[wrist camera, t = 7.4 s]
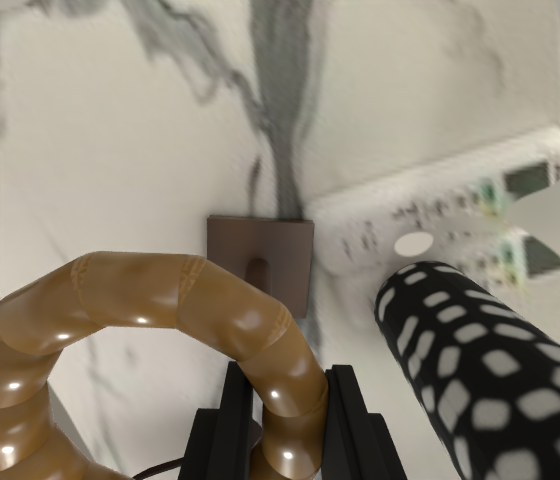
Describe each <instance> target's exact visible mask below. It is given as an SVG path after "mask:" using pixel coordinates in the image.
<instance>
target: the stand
mask: <svg viewBox="0 0 560 480" xmlns="http://www.w3.org/2000/svg"><path fill="white" fill-rule="evenodd" d="M313 235H314V222H313V221H307V220H288V219H269V218H250V217H231V216H212V215H210V216H209V217H208V218H207V260H209V261H211V262H212V263H214V264H216V265H218V266H219V267H221V268H223V269H225V270H226V271H228V272H230V273H232V274H233V275H235V276H237V277H238V278H240V279H242V280H244V281H245V282H247V283H249V284H251V285H252V286H254V287H256V288H258V289H259V290H261V291H263V292H265V293H266V294H268V295H270V296H272V297H273V298H275V299H277V300H278V301H280V302H281V303H282V304H284V305H285V306H286V308H287V309H288V310H289V312H290V313H291V315H292V317H293V318H306V311H307V300H308V289H309V278H310V267H311V256H312V246H313Z"/></svg>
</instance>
